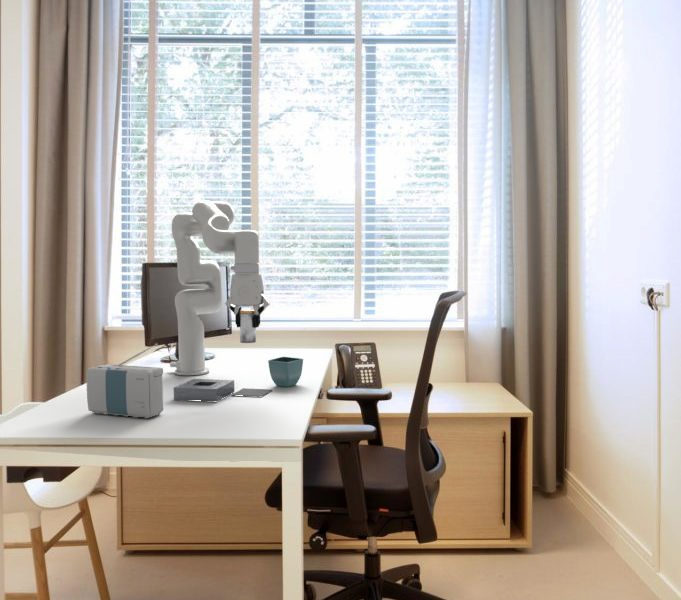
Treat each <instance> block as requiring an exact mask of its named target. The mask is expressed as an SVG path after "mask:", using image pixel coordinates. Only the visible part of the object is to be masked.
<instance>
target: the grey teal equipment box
mask: <svg viewBox="0 0 681 600" xmlns="http://www.w3.org/2000/svg"><path fill="white" fill-rule="evenodd" d="M155 346H158V343H155V344H154V345H152V346H150V347H148V348H146V349H144V350H142V351H141V352H139V353H137V354H135V355H133V356H131V357H129V358H128V359H126V360H124V361H122V362H121V363H119V364H114V363H113V364H111V363H110V364H109V363H106V364H100V365H96V366H92V367H89V368H87V369H86V399H87V402H86V403H87V408H88V411H89V412H91V413H92V412H94V413H97V414H99V413H106V414H105V415H108V414H114V415H113V416H118V415H124V416H123V417H128V416H133V417H132V418H138V417H145V418H144V419H147V418H149V417H151V418H153V417H152V416H154V417H156V416H158V415H157V414H159V415H161V414H162V412H163V411H164V394H163V393H164V392H163V375H164V368H163V367H155V366H140V365H126V363H128V362H129V361H132V360H133V359H135V358H136V357H138V356H140V355H142V354H144V353H145V352H146V351H149V350H150V349H151V348H153V347H155ZM94 413H93V414H94ZM160 413H161V414H160ZM155 415H156V416H155ZM149 419H150V418H149Z"/></svg>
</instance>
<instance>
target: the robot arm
mask: <svg viewBox="0 0 681 600" xmlns="http://www.w3.org/2000/svg"><path fill="white" fill-rule="evenodd" d="M234 218H235V212H234V208H233V207H232V205H231V204H230V203H228V202H227V201H212V200H202V201H198V202H197V203H195V204H194V206H193V207H192V210H191V212H183V213H181V212H180V213H177V214H176V215H174V216H173V218H172V222H171V235H172V237H173V241H174V243H175V244H174V245H175V249H176V261H177V262H176V263H177V264H176V265H177V266H176V267H177V278H178V282H179V283H180V284H181V285H183V286H190V287H191V286H193V287H194V286H205V288H190V289H189V288H188V289H182V290H180V291H178V292H177V293H176V294H175V297H174V306H175V310H176V316H177V317H176V318H177V332H178V334H177V335H178V337H177V338H178V339H177V340H178V360H177V361H170V363H169V367H170V368H176V369H175V370H174V373H175V375H178V376H200V375H205V374H206V375H207V374H208V373H210V368H208V367H206V353H205V351H206V350H205V326H204V322H203V321H202V320H201V319H200V317H199V316H198V315H206V314H207V315H209V314H216V313H218V312H220V310H221V308H222V305H223V304H222V303H223V300H222V299H223V294H222V274H221V268H220V266H219V264H218V263H217V262H216V261H215V260H209V259H206V260H205V259H201V249H200V245H199V244H198V241H196V240H195V239H194V238H193V237H201V238H202V242H203V244H204V246H205V247H206V248H207V249H208V250H210V251H211V252H212V253H214V254H217V255H219V254H220V255H221V254H222V255H224V254H225V255H226V254H227V255H228V254H229V255H234V264H233V265H231V266H230V270H231V271H234V273H233V274H232V275H231V280H230V288H229V289H230V290H229V297H228V299H227V300H226V302H225V303H224V304H225V306H226V307H228V309H230V311H232V313H233V314H234V315H235V325H236V328H240V311H241V310H243V309H242V308H243V306H244V307H245V306H246V307H247V306H248V307H250V306H251V307H253V308H252V310H254V312H255V315H254V316H253V326H254V328H256V329H257V328H259V327H260V325H261V314H262V313H263V312H264V311H265V310H266V309H267V308H268V307H269V306H270V305H271V303H270V301H269V300H268V299H267V298H266V296H265V290H264V282H263V278H262V274H261V273H260V255H259V252H260V250H259V247H260V246H259V242H260V241H259V233H258V231H256V230H252V229H251V230H250V229H244V230H243V229H242V230H241V229H240V230H239V229H238V230H231V229H230V226H231V225H232V223H233V222H234Z"/></svg>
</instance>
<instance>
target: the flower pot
mask: <svg viewBox="0 0 681 600" xmlns="http://www.w3.org/2000/svg"><path fill="white" fill-rule="evenodd" d="M267 363H268V367H269V368H268V369H269V374H270V378H271V380H272V381H273V383H274V385H276V386H277V387H283V388H284V387H286V388H289V387H291V386H292V387H293V386H296V385H297V384H298V383H299V380H300V379H301V375H302V373H303V364H304V358H301V357H300V358H298V357H288V356H281V357H276V358H273V359H268V360H267Z"/></svg>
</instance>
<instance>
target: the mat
mask: <svg viewBox="0 0 681 600" xmlns="http://www.w3.org/2000/svg"><path fill="white" fill-rule="evenodd" d="M270 391H271V392H273V389H272V388H270V389H269V388H244V387H243V388H241V389H239V390H237V391H236V392H234V393H233V394H231V395H243V396H263V395H265V394H266V395H268V394H269V393H271V392H270ZM268 392H269V393H268ZM267 393H268V394H267ZM266 395H265V396H266ZM263 397H264V396H263Z"/></svg>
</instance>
